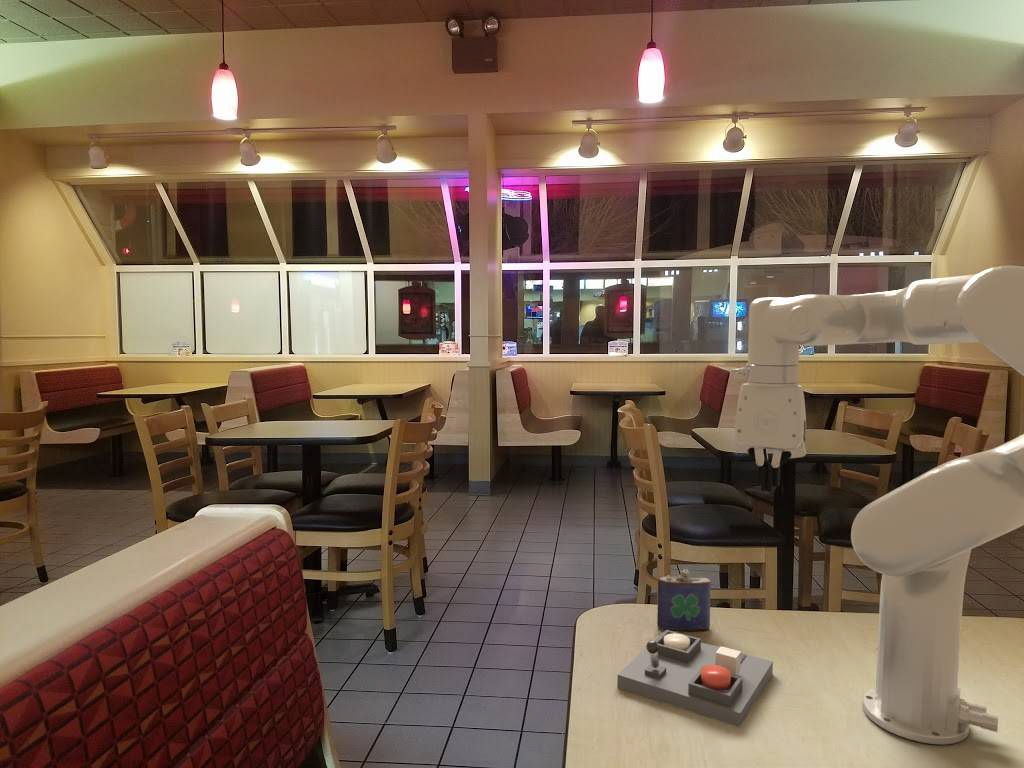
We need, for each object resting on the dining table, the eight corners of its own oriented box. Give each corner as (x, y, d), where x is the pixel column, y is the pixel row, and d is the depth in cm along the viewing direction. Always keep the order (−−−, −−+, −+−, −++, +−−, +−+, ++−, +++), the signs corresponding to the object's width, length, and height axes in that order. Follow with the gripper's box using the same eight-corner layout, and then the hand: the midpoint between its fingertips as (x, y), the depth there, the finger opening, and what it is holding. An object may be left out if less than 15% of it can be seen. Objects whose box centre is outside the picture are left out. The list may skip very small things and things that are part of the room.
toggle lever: (663, 664, 103) (659, 639, 101) (659, 672, 102) (655, 648, 100) (652, 660, 104) (648, 636, 102) (647, 669, 103) (643, 645, 101)
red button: (734, 680, 98) (734, 669, 98) (725, 693, 95) (725, 682, 95) (706, 672, 100) (706, 662, 100) (696, 684, 97) (697, 673, 97)
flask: (708, 625, 124) (709, 567, 122) (712, 633, 121) (713, 573, 120) (655, 624, 124) (656, 566, 123) (658, 632, 121) (659, 572, 120)
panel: (772, 673, 107) (773, 651, 106) (739, 727, 93) (740, 701, 92) (661, 643, 117) (662, 622, 116) (617, 687, 103) (617, 664, 102)
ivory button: (693, 647, 110) (693, 637, 110) (684, 657, 107) (684, 647, 107) (669, 640, 113) (669, 631, 112) (659, 650, 109) (660, 640, 109)
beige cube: (740, 670, 103) (740, 651, 102) (735, 677, 101) (736, 658, 100) (720, 665, 104) (720, 646, 104) (715, 672, 102) (715, 652, 102)
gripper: (717, 375, 111) (715, 488, 112) (818, 380, 102) (813, 502, 104) (732, 372, 117) (729, 479, 118) (828, 376, 108) (823, 491, 110)
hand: (768, 489), depth 111 cm, fingers closed
